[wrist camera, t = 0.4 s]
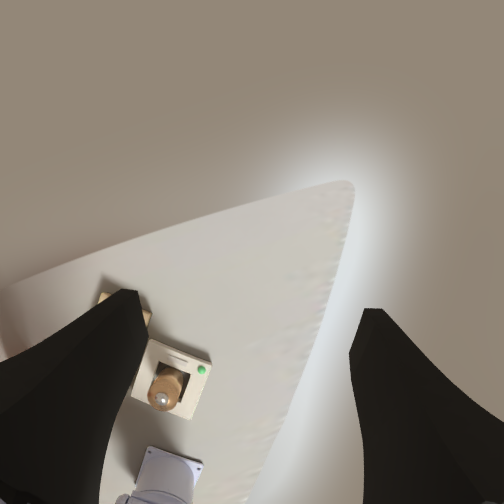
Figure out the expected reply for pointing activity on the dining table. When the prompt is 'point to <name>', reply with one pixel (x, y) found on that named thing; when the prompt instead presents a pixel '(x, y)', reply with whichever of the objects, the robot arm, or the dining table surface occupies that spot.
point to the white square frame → (178, 360)
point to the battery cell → (166, 389)
